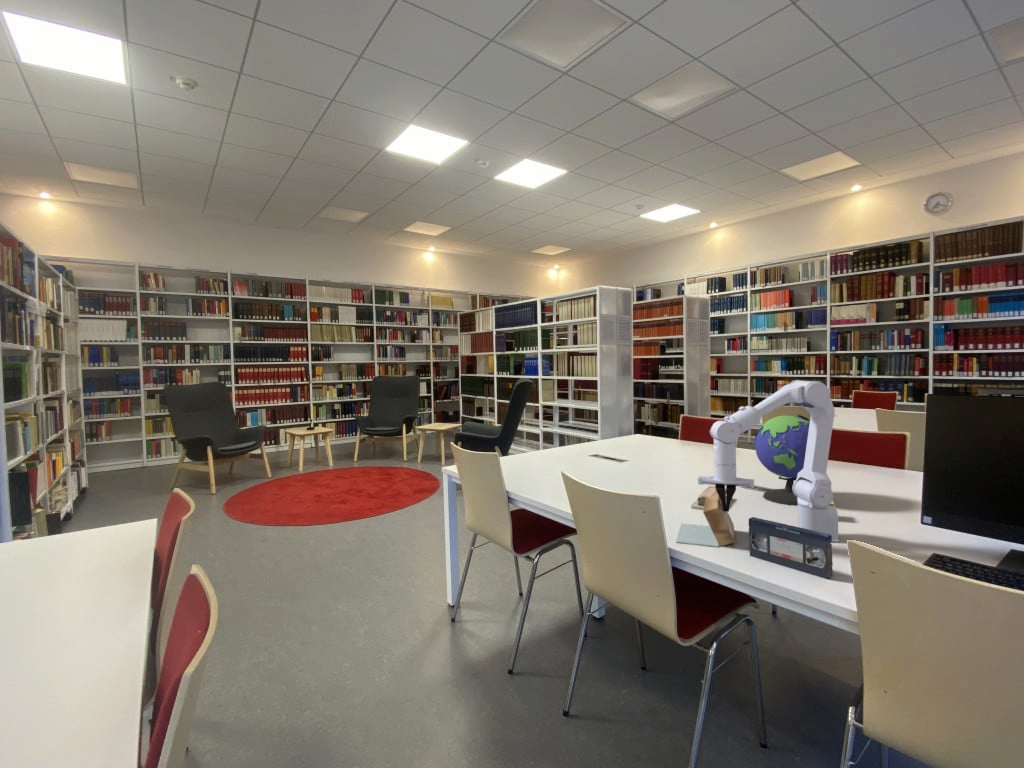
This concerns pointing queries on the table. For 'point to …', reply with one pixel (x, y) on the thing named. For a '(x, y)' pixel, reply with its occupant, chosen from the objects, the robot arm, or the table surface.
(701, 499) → the packaged product
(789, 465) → the globe
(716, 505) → the tan wooden block
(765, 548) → the vhs cassette tape
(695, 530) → the mat
